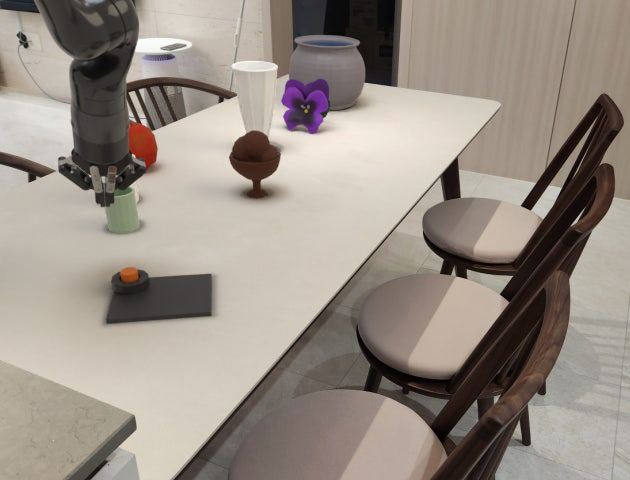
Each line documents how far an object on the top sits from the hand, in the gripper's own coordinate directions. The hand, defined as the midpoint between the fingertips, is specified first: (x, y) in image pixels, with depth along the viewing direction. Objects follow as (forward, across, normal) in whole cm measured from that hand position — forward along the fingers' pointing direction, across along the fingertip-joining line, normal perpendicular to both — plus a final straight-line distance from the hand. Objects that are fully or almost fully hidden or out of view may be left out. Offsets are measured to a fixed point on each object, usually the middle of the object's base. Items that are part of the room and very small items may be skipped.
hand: (104, 202), depth 104 cm
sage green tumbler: (+17, -3, -8) cm, 19 cm away
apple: (+32, -8, -38) cm, 50 cm away
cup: (+32, -38, -44) cm, 67 cm away
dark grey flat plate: (+3, -8, +18) cm, 20 cm away
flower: (+39, -58, -61) cm, 93 cm away
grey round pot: (+49, -71, -83) cm, 120 cm away
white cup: (+23, -4, -19) cm, 31 cm away
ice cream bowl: (+19, -31, -17) cm, 41 cm away
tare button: (+3, -3, +13) cm, 14 cm away
